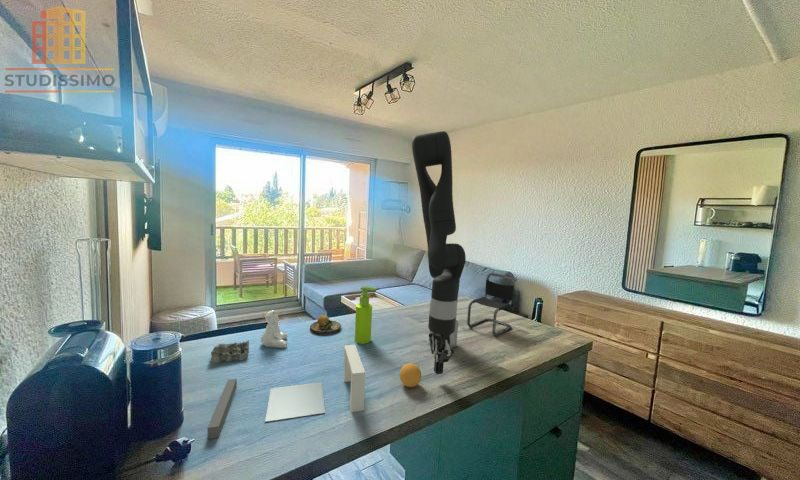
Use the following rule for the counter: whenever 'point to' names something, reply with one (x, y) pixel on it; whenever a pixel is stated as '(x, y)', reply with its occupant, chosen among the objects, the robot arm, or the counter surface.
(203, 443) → the counter surface
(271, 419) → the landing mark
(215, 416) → the wall
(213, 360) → the egg carton
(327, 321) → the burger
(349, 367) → the bridge
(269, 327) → the seated beast figurine
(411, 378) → the ball
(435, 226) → the robot arm
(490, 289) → the chair
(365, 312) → the soap dispenser
